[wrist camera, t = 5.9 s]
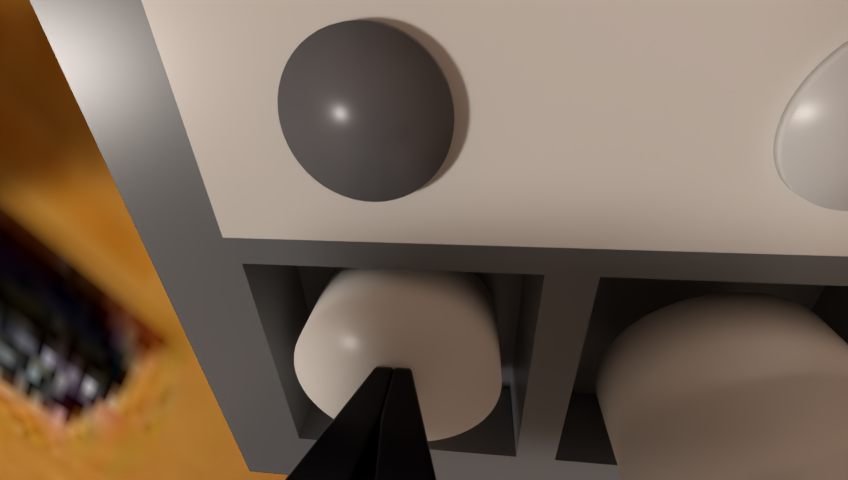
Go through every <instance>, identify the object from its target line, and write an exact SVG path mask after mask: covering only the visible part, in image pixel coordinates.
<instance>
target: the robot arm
mask: <svg viewBox="0 0 848 480" xmlns="http://www.w3.org/2000/svg"><path fill="white" fill-rule="evenodd" d="M285 480H436V476H435V471H434V467H433V462H432V458H431V454H430V449H429V445H428V440H427V436H426V431H425V427H424V422H423V418H422V413H421V409H420V404H419V400H418V396H417V391H416V387H415V382H414V378H413V373H412V370H411V369H410V368H398V367H397V368H394V369H393V368H392V367H382V366H377V367H375V368H374V369H373V371H372V372H371V373H370V374H369V376H368V377H367V378H366V379H365V381H364V382H363V383H362V384H361V386H360V387H359V388H358V389H357V391H356V392H355V393H354V394H353V396H352V397H351V398H350V399H349V401H348V402H347V403H346V404H345V406H344V407H343V408H342V409H341V411H340V412H339V413H338V414H337V416H336V417H335V418H334V419H333V421H332V422H331V423H330V424H329V426H328V427H327V428H326V429H325V431H324V432H323V433H322V434H321V436H320V437H319V438H318V439H317V441H316V442H315V443H314V444H313V446H312V447H311V448H310V449H309V451H308V452H307V453H306V454H305V456H304V457H303V458H302V459H301V461H300V462H299V463H298V464H297V466H296V467H295V468H294V469H293V471H292V472H291V473H290V474H289V476H288V477H287V478H286V479H285Z"/></svg>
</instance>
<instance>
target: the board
mask: <svg viewBox="0 0 848 480" xmlns="http://www.w3.org/2000/svg"><path fill="white" fill-rule="evenodd" d="M30 2H31V4H32V6H33V9H34V11H35V13H36V15H37V17H38V19H39V21H40V24H41V26H42V28H43V30H44V32H45V34H46V36H47V39H48V41H49V43H50V45H51V47H52V49H53V51H54V53H55V56H56V58H57V60H58V62H59V64H60V66H61V68H62V71H63V73H64V75H65V77H66V79H67V81H68V83H69V86H70V88H71V90H72V92H73V94H74V96H75V98H76V101H77V103H78V105H79V107H80V109H81V111H82V113H83V115H84V118H85V120H86V122H87V124H88V126H89V128H90V130H91V133H92V135H93V137H94V139H95V141H96V143H97V145H98V148H99V150H100V152H101V154H102V156H103V158H104V160H105V162H106V165H107V167H108V169H109V171H110V173H111V175H112V177H113V180H114V182H115V184H116V186H117V188H118V190H119V192H120V195H121V197H122V199H123V201H124V203H125V205H126V207H127V210H128V212H129V214H130V216H131V218H132V220H133V222H134V224H135V227H136V229H137V231H138V233H139V235H140V237H141V239H142V242H143V244H144V246H145V248H146V250H147V252H148V254H149V257H150V259H151V261H152V263H153V265H154V267H155V269H156V272H157V274H158V276H159V278H160V280H161V282H162V284H163V286H164V289H165V291H166V293H167V295H168V297H169V299H170V301H171V304H172V306H173V308H174V310H175V312H176V314H177V316H178V319H179V321H180V323H181V325H182V327H183V329H184V331H185V333H186V336H187V338H188V340H189V342H190V344H191V346H192V348H193V351H194V353H195V355H196V357H197V359H198V361H199V363H200V366H201V368H202V370H203V372H204V374H205V376H206V378H207V381H208V383H209V385H210V387H211V389H212V391H213V393H214V395H215V398H216V400H217V402H218V404H219V406H220V408H221V410H222V413H223V415H224V417H225V419H226V421H227V423H228V425H229V428H230V430H231V432H232V434H233V436H234V438H235V440H236V442H237V445H238V447H239V449H240V451H241V453H242V455H243V457H244V460H245V462H246V464H247V466H248V468H249V470H250V471H253V472H263V473H274V474H285V475H289V474H290V473H291V472H292V471H293V469H294V468H295V467H296V466H297V464H298V463H299V462H300V461H301V459H302V458H303V457H304V456H305V454H306V453H307V452H308V451H309V449H310V448H311V447H312V446H313V444H314V443H315V442H316V441H317V439H318V438H319V437H320V436H321V434H322V433H323V432H324V431H325V429H326V428H327V427H328V426H329V424H330V423H331V422H332V421H333V418H332V417H330V416H329V415H327V414H326V413H325V412H323V411H322V410H321V409H320V408H319V407H318V406H317V405H316V404H315V403H314V402H313V401H312V400H311V399H310V398H309V397H308V395H307V394H306V393H305V391H304V390H303V388H302V386H301V385H300V383H299V380H298V378H297V375H296V372H295V367H294V352H295V346H296V344H297V341H298V339H299V336H300V334H301V332H302V331H303V329H304V327H305V325H306V323H307V321H308V319H309V317H310V315H311V313H312V311H313V309H314V307H315V305H316V303H317V301H318V299H319V297H320V295H321V293H322V291H323V289H324V287H325V285H326V283H327V281H328V279H329V278H330V276H331V275H332V273H333V272H334V271H335V270H336V269H337V268H338V267H348V268H375V269H402V270H429V271H456V272H474V273H475V274H476V275H477V276H478V277H479V278H480V279H481V281H482V282H483V283H484V285H485V286H486V287H487V289H488V290H489V292H490V294H491V296H492V298H493V300H494V303H495V306H496V311H497V319H498V333H499V347H500V361H501V375H502V388H501V392H500V397H499V399H498V401H497V404H496V405H495V407H494V408H493V410H492V412H491V413H490V414H489V415H488V416H487V417H486V418H485V419H484V420H483V421H481V422H480V423H479V424H478V425H476V426H475V427H473V428H471V429H469V430H468V431H465V432H463V433H461V434H458V435H455V436H452V437H449V438H445V439H440V440H434V441H428V445H429V449H430V454H431V458H432V462H433V467H434V471H435V476H436V480H622V478H621V475H620V472H619V468H618V465H617V462H616V458H615V455H614V452H613V448H612V445H611V442H610V438H609V435H608V432H607V429H606V425H605V422H604V419H603V415H602V412H601V409H600V405H599V402H598V399H597V395H596V391H595V387H594V375H595V370H596V366H597V364H598V361H599V359H600V357H601V355H602V354H603V352H604V350H605V349H606V348H607V346H608V345H609V344H610V343H611V341H612V340H613V339H614V338H615V337H616V336H618V335H619V334H620V333H621V332H622V331H623V330H624V329H626V328H627V327H628V326H630V325H631V324H632V323H634V322H635V321H637V320H639V319H640V318H642V317H644V316H645V315H647V314H649V313H651V312H654V311H656V310H658V309H660V308H662V307H665V306H668V305H670V304H673V303H676V302H679V301H682V300H686V299H690V298H693V297H698V296H703V295H709V294H716V293H727V292H752V293H763V294H769V295H774V296H779V297H782V298H785V299H788V300H791V301H794V302H796V303H798V304H800V305H802V306H804V307H807V308H808V309H809V310H811V311H812V312H814V313H815V314H816V315H818V316H819V317H820V318H821V319H822V320H823V321H824V322H825V323H826V324H827V325H828V326H829V327H830V328H831V329H832V330H833V331H834V332H835V333H837V334H838V335H839V336H840V337H841V338H842V339H843V340H844V341H845V342H846V343H847V344H848V0H30Z"/></svg>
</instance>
